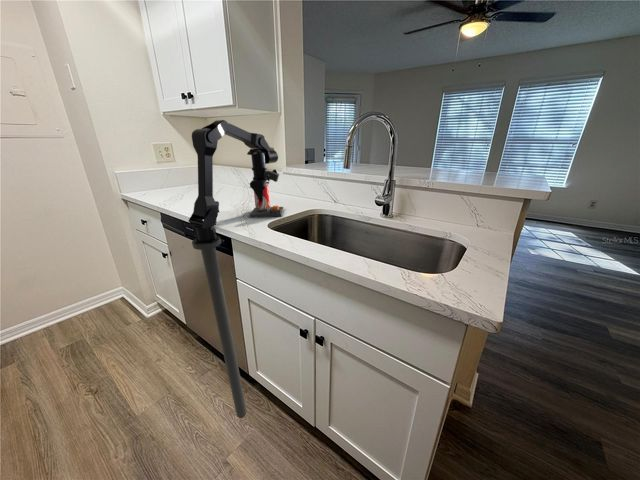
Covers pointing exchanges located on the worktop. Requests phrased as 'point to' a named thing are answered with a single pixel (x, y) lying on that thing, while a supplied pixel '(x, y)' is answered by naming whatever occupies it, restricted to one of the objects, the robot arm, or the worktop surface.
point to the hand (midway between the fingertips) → (262, 199)
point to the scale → (267, 212)
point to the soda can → (266, 200)
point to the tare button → (275, 207)
